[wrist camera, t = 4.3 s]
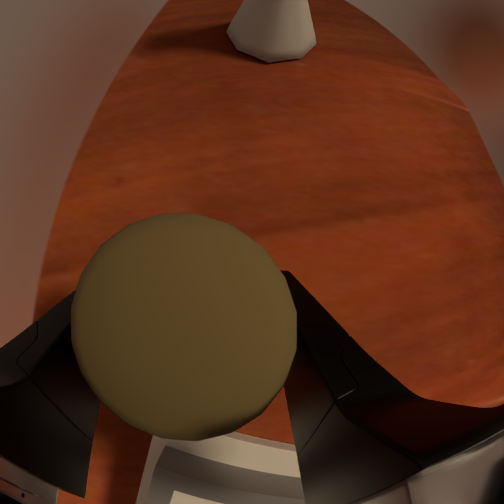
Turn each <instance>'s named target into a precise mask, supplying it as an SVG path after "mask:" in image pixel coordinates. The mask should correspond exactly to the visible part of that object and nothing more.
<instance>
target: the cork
mask: <svg viewBox="0 0 504 504" xmlns="http://www.w3.org/2000/svg"><path fill="white" fill-rule="evenodd" d="M71 342H72V345H73V349H74V352H75V355H76V359H77V362H78V365H79V368H80V371H81V374H82V375H83V377H84V378H85V380H86V381H87V383H88V384H89V386H90V387H91V389H92V390H93V392H94V393H95V395H96V396H97V398H98V399H99V401H100V402H101V403H103V404H104V405H105V406H106V407H107V408H108V409H110V410H111V411H112V412H113V413H114V414H116V415H117V416H118V417H119V418H121V419H122V420H123V421H124V422H126V423H127V424H128V425H130V426H133V427H135V428H137V429H140V430H142V431H144V432H147V433H149V434H152V435H154V436H157V437H160V438H163V439H173V440H185V441H201V440H205V439H209V438H214V437H218V436H222V435H226V434H230V433H232V432H234V431H236V430H237V429H239V428H241V427H242V426H244V425H245V424H247V423H248V422H250V421H252V420H253V419H255V418H256V417H258V416H259V415H261V414H262V413H263V412H264V410H265V409H266V408H267V407H268V405H269V404H270V403H271V402H272V400H273V399H274V398H275V397H276V395H277V394H278V393H279V391H280V390H281V389H282V388H283V386H284V384H285V382H286V379H287V376H288V373H289V370H290V367H291V364H292V361H293V358H294V355H295V352H296V348H297V312H296V309H295V306H294V303H293V299H292V296H291V293H290V290H289V287H288V284H287V281H286V279H285V276H284V275H283V274H282V272H281V271H280V270H279V268H278V267H277V266H276V264H275V263H274V261H273V260H272V259H271V257H270V256H269V255H268V253H267V252H266V251H265V249H264V248H263V247H262V246H260V245H259V244H258V243H256V242H255V241H253V240H252V239H251V238H249V237H248V236H246V235H245V234H244V233H242V232H241V231H239V230H238V229H237V228H235V227H234V226H232V225H230V224H227V223H224V222H221V221H218V220H215V219H212V218H209V217H205V216H202V215H199V214H159V215H156V216H153V217H150V218H147V219H144V220H141V221H138V222H135V223H132V224H129V225H127V226H126V227H125V228H123V229H122V230H120V231H119V232H118V233H116V234H115V235H114V236H112V237H111V238H110V239H108V240H107V241H106V242H105V243H103V244H102V245H101V246H100V247H99V249H98V250H97V252H96V253H95V254H94V256H93V257H92V259H91V260H90V261H89V263H88V264H87V266H86V267H85V269H84V270H83V272H82V273H81V276H80V280H79V283H78V286H77V289H76V292H75V296H74V299H73V302H72V306H71Z"/></svg>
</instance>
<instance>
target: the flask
mask: <svg viewBox="0 0 504 504" xmlns="http://www.w3.org/2000/svg"><path fill="white" fill-rule="evenodd" d="M226 33H227V34H228V36H229V38H230V39H231V41H232V42H233V44H234V46H235V47H236V49H237V50H239V51H242V52H244V53H247V54H249V55H251V56H254V57H256V58H259V59H261V60H263V61H265V62H268V63H270V62H277V61H284V60H291V59H300V58H303V56H305V55H306V54H307V53H308V52H309V51H310V50H311V49H312V48H313V47H314V46H315V45H316V38H315V33H314V28H313V24H312V19H311V15H310V10H309V5H308V0H244V1H243V3H242V5H241V6H240V8H239V10H238V11H237V13H236V15H235V16H234V18H233V20H232V21H231V23H230V25H229V27H228V29H227V31H226Z"/></svg>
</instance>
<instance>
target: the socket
mask: <svg viewBox="0 0 504 504" xmlns="http://www.w3.org/2000/svg"><path fill="white" fill-rule="evenodd" d="M136 504H305V498H304V493H303V487H302V482H301V476H300V471H299V465H298V460H297V454H296V448H295V445H293V444H288V443H282V442H277V441H272V440H267V439H263V438H258V437H254V436H250V435H245V434H241V433H238V432H232V433H230V434H226V435H222V436H218V437H214V438H209V439H205V440H201V441H185V440H173V439H163V438H160V437H157V436H154V435H153V437H152V441H151V444H150V448H149V452H148V456H147V460H146V463H145V467H144V471H143V475H142V479H141V483H140V487H139V491H138V496H137V500H136Z"/></svg>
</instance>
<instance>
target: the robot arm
mask: <svg viewBox="0 0 504 504" xmlns="http://www.w3.org/2000/svg"><path fill="white" fill-rule="evenodd" d="M281 272H282V274H283V275H284V276H285V279H286V281H287V284H288V287H289V290H290V293H291V296H292V299H293V303H294V306H295V309H296V312H297V348H296V352H295V355H294V358H293V361H292V364H291V367H290V370H289V373H288V376H287V379H286V382H285V384H284V389H285V394H286V399H287V405H288V410H289V416H290V421H291V426H292V432H293V437H294V443H295V448H296V454H297V460H298V465H299V471H300V476H301V482H302V487H303V493H304V498H305V504H504V404H502V405H500V406H498V407H493V408H478V407H471V406H464V405H457V404H451V403H445V402H440V401H434V400H429V399H425V398H422V397H420V396H418V395H416V394H414V393H413V392H411V391H410V390H409V389H407V388H406V387H405V386H404V385H403V384H402V383H400V382H399V381H398V380H397V379H396V378H395V377H393V376H392V375H391V374H390V373H389V372H388V371H386V370H385V369H384V368H383V367H382V366H381V365H379V364H378V363H377V362H376V361H375V360H374V359H373V358H372V357H371V356H370V355H368V354H367V353H366V352H365V351H364V350H363V349H362V348H361V346H360V345H359V344H358V343H357V342H356V341H355V340H354V339H353V338H352V337H351V336H349V334H348V333H347V332H346V331H345V330H344V329H343V328H342V327H341V325H340V324H339V323H338V322H337V321H336V320H335V319H334V318H333V317H332V316H331V315H330V314H329V313H328V312H327V311H326V310H325V309H324V307H323V306H322V305H321V304H320V303H319V302H318V301H317V300H316V299H315V298H314V297H313V296H312V295H311V294H310V293H309V292H308V291H307V290H306V289H305V287H304V286H303V285H302V284H301V283H300V282H299V281H298V280H297V279H296V278H295V277H294V276H293V275H292V274H291V273H290V272H289V271H281ZM75 292H76V290H75V291H74V292H72V293H71V294H70V295H69V296H67V297H66V298H65V299H63V300H62V301H61V302H59V303H58V304H57V305H55V306H54V307H53V308H52V309H50V310H49V311H48V312H47V313H45V314H44V315H43V316H42V317H40V318H39V319H38V321H35V322H34V323H33V324H32V325H30V326H29V327H28V328H27V329H25V330H24V331H23V332H22V333H20V334H19V335H18V336H16V337H15V338H14V339H12V340H11V341H10V342H8V343H7V344H5V345H4V346H3V347H1V348H0V504H57V497H58V491H59V489H60V490H62V491H65V492H68V493H71V494H73V495H76V496H79V497H82V498H85V493H86V484H87V476H88V468H89V461H90V455H91V449H92V441H93V436H94V431H95V425H96V420H97V415H98V410H99V406H100V401H99V399H98V398H97V396H96V395H95V393H94V392H93V390H92V389H91V387H90V386H89V384H88V383H87V381H86V380H85V378H84V377H83V375H82V374H81V371H80V368H79V365H78V362H77V359H76V355H75V352H74V349H73V345H72V342H71V306H72V302H73V299H74V296H75Z"/></svg>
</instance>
